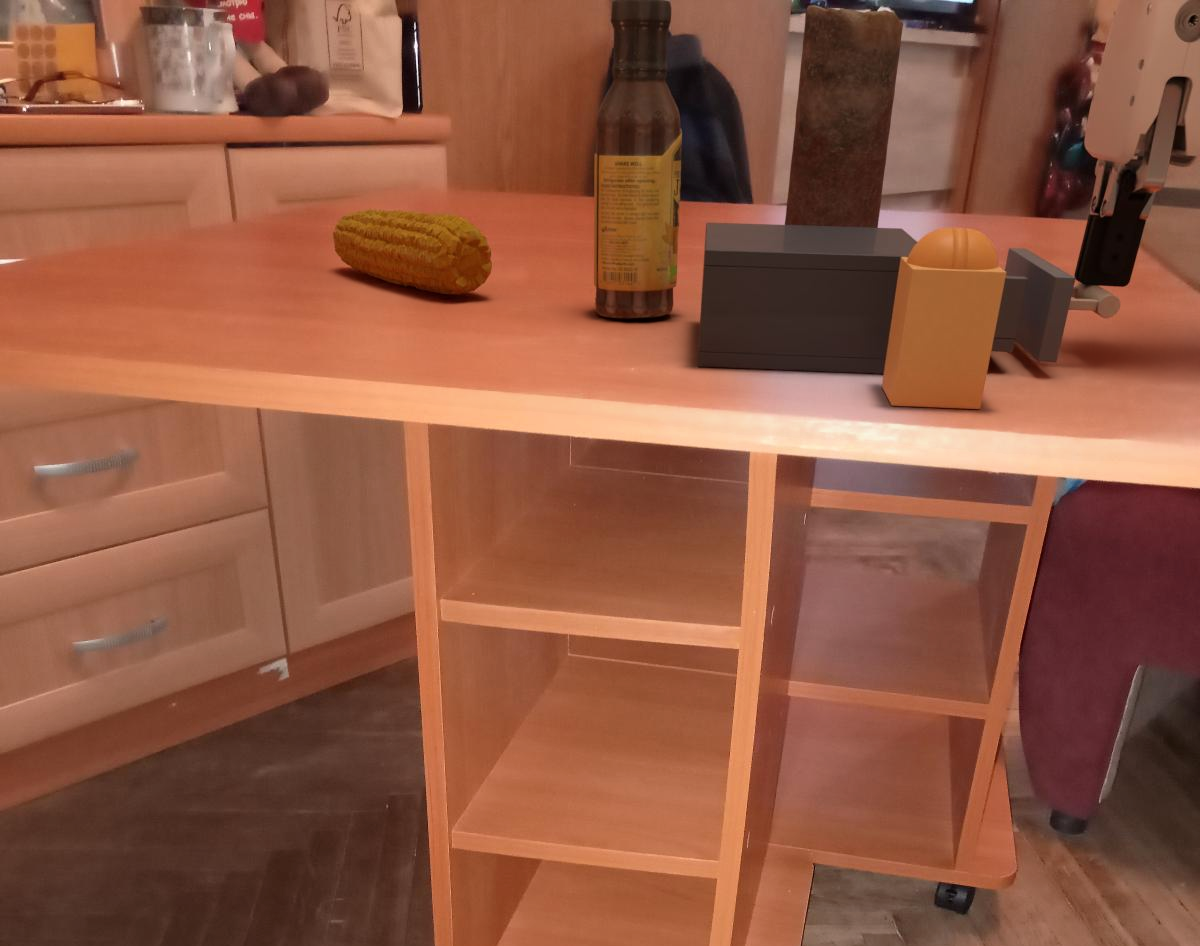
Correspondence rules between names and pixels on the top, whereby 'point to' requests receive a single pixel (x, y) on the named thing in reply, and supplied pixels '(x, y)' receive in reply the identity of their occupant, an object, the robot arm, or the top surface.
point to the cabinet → (799, 296)
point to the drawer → (1042, 305)
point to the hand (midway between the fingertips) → (1100, 283)
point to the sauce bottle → (637, 170)
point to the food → (415, 249)
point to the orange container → (943, 321)
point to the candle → (843, 117)
